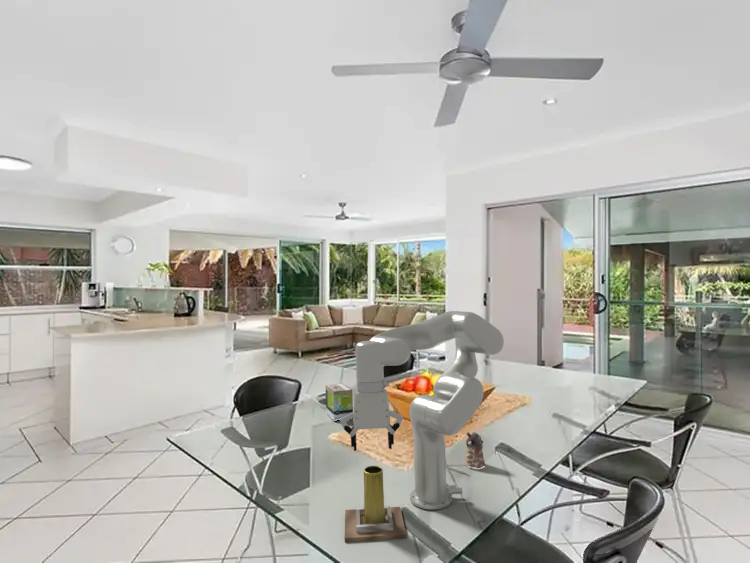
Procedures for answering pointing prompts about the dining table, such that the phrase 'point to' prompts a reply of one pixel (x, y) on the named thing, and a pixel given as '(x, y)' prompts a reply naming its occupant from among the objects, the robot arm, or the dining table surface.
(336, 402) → the tea box
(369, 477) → the vase
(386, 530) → the socket board
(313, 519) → the dining table surface
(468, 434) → the figurine
